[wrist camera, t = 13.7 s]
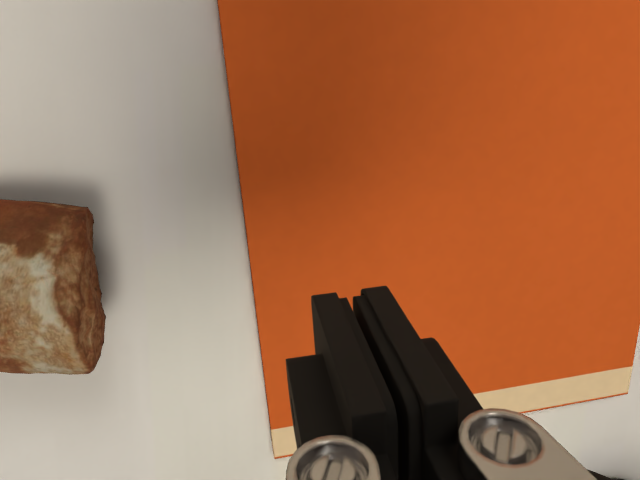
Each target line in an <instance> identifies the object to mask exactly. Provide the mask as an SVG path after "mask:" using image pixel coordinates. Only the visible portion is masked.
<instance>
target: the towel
mask: <svg viewBox="0 0 640 480" xmlns="http://www.w3.org/2000/svg"><path fill="white" fill-rule="evenodd" d="M217 1H218V9H219V17H220V25H221V33H222V41H223V49H224V57H225V65H226V73H227V81H228V89H229V97H230V106H231V114H232V122H233V130H234V138H235V146H236V154H237V162H238V170H239V178H240V186H241V194H242V202H243V210H244V218H245V227H246V235H247V243H248V251H249V259H250V267H251V275H252V283H253V291H254V299H255V307H256V315H257V323H258V331H259V339H260V347H261V356H262V364H263V372H264V380H265V388H266V396H267V404H268V412H269V420H270V428H271V436H272V444H273V452H274V458H275V459H277V458H282V457H288V456H292V455H293V454H294V452H295V451H296V450H297V446H296V440H295V434H294V428H293V421H292V414H291V407H290V399H289V390H288V380H287V371H286V359H288V358H295V357H302V356H308V355H315V344H314V332H313V319H312V306H311V296H312V295H319V294H326V293H334V292H336V293H337V295H338V297H339V298H345V297H347V299H348V301H349V303H350V306H351V308H352V310H353V296H360V294H361V289H364V288H371V287H379V286H387V287H388V288H389V290H390V291H391V293H392V294H393V296H394V298H395V299H396V301H397V302H398V304H399V306H400V307H401V309H402V310H403V312H404V313H405V315H406V317H407V318H408V320H409V321H410V323H411V324H412V326H413V328H414V329H415V331H416V332H417V334H418V336H419V337H420V339H423V338H430V337H432V338H435V340H436V341H437V342H438V343H439V345H440V346H441V348H442V349H443V350H444V352H445V353H446V355H447V356H448V358H449V359H450V361H451V362H452V364H453V365H454V367H455V368H456V370H457V371H458V372H459V374H460V375H461V377H462V378H463V380H464V381H465V383H466V384H467V386H468V387H469V389H470V390H471V392H472V393H473V394H474V396H475V397H476V399H477V400H478V402H479V403H480V405H481V406H482V408H483V409H488V408H499V409H507V410H511V411H515V412H519V413H526V412H532V411H537V410H543V409H548V408H554V407H559V406H564V405H570V404H575V403H581V402H586V401H591V400H597V399H602V398H608V397H613V396H619V395H624V394H628V389H629V383H630V378H631V372H632V365H633V360H634V354H635V348H636V343H637V337H638V331H639V325H640V0H217Z"/></svg>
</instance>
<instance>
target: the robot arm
mask: <svg viewBox="0 0 640 480" xmlns="http://www.w3.org/2000/svg"><path fill="white" fill-rule="evenodd" d="M311 306H312V319H313V332H314V344H315V355H308V356H302V357H295V358H288V359H286V371H287V380H288V390H289V399H290V407H291V414H292V421H293V428H294V434H295V440H296V446H297V450H296V451H295V452H294V454H293V455H292V457H291V458H290V459H289V462H288V466H287V470H286V480H614V479H611V478H608V477H606V476H603V475H600V474H598V473H595V472H593V471H590V470H587V469H586V468H585V467H583V466H582V465H581V464H580V463H579V462H578V461H577V460H576V459H575V458H574V457H573V456H572V455H571V454H570V453H569V452H568V451H567V450H566V449H565V448H564V447H563V446H562V445H561V444H560V443H558V442H557V441H556V440H555V439H554V438H553V437H552V436H551V435H550V434H549V433H548V432H547V431H546V430H545V429H544V428H543V427H542V426H541V425H539V424H538V423H537V422H535V421H534V420H533V419H531V418H529V417H527V416H525V415H523V414H521V413H519V412H515V411H511V410H507V409H499V408H488V409H483V408H482V406H481V405H480V403H479V402H478V400H477V399H476V397H475V396H474V394H473V393H472V392H471V390H470V389H469V387H468V386H467V384H466V383H465V381H464V380H463V378H462V377H461V375H460V374H459V372H458V371H457V370H456V368H455V367H454V365H453V364H452V362H451V361H450V359H449V358H448V356H447V355H446V353H445V352H444V350H443V349H442V348H441V346H440V345H439V343H438V342H437V341H436V340H435V338H432V337H430V338H423V339H420V337H419V336H418V334H417V332H416V331H415V329H414V328H413V326H412V324H411V323H410V321H409V320H408V318H407V317H406V315H405V313H404V312H403V310H402V309H401V307H400V306H399V304H398V302H397V301H396V299H395V298H394V296H393V294H392V293H391V291H390V290H389V288H388V287H387V286H379V287H371V288H364V289H361V294H360V296H353V310H352V308H351V306H350V303H349V301H348V299H347V297H345V298H339V297H338V295H337V293H336V292H334V293H326V294H319V295H312V296H311Z"/></svg>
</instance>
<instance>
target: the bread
mask: <svg viewBox="0 0 640 480" xmlns="http://www.w3.org/2000/svg"><path fill="white" fill-rule="evenodd" d="M93 223H94V220H93V214H92V213H91V212H90V210H89V209H88V207H79V206H72V205H66V204H56V203H47V202H36V201H16V200H2V199H0V372H7V373H26V374H31V373H59V374H89V373H90V372H92V371H93V370H94V368H95V367H96V364H97V362H98V360H99V358H100V356H101V349H102V346H103V343H104V329H105V319H106V316H105V314H104V310H103V308H102V303H101V302H100V301H101V295H102V293H101V290H100V287H99V280H98V272H97V268H96V264H95V255H94V252H93Z"/></svg>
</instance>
